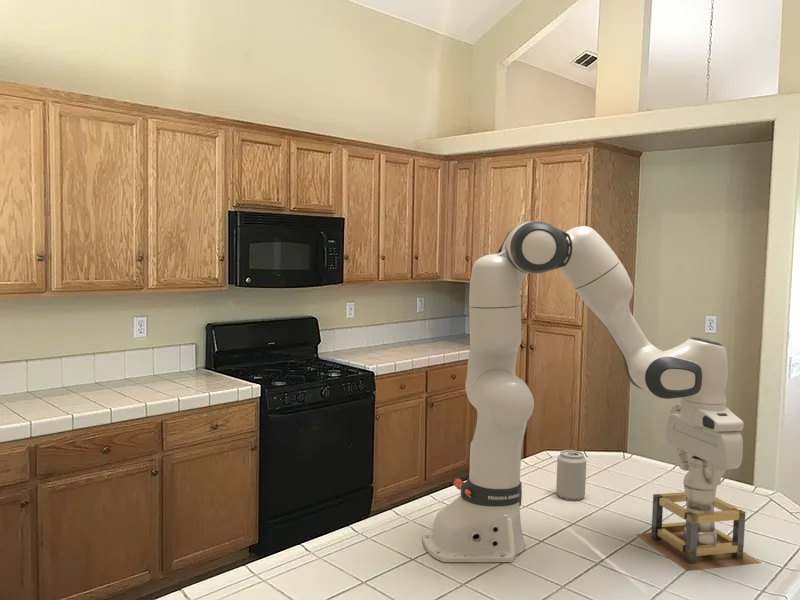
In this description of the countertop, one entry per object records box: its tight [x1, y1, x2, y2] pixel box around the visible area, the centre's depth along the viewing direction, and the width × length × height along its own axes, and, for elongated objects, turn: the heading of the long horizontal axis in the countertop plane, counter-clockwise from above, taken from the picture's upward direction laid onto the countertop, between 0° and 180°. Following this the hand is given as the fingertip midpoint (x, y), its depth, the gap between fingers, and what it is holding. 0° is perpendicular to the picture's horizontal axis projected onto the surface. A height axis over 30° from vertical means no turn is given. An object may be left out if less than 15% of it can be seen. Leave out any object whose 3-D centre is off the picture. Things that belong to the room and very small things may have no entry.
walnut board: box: [634, 532, 762, 572], centre depth 145 cm, size 18×18×1 cm
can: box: [555, 449, 587, 501], centre depth 178 cm, size 8×8×12 cm
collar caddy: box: [650, 491, 746, 564], centre depth 145 cm, size 13×13×10 cm
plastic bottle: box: [683, 455, 718, 546], centre depth 143 cm, size 6×7×20 cm
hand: (699, 476), depth 144 cm, fingers open, 8 cm apart
